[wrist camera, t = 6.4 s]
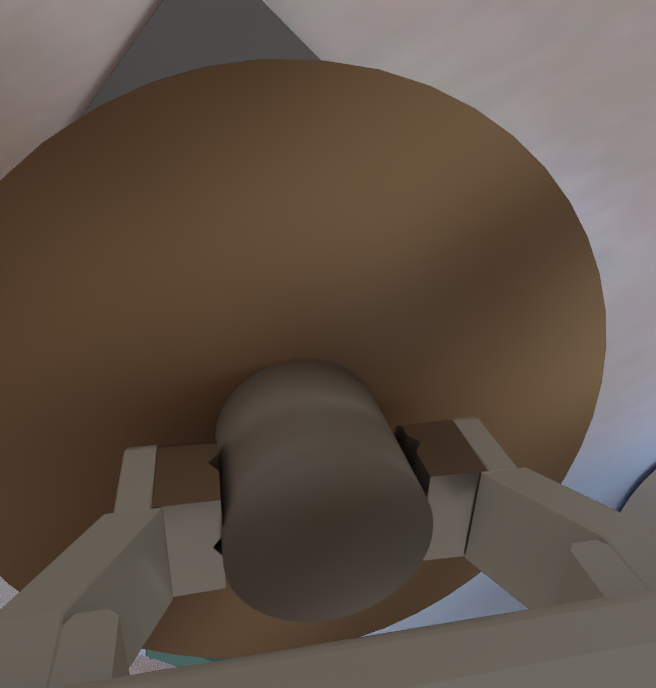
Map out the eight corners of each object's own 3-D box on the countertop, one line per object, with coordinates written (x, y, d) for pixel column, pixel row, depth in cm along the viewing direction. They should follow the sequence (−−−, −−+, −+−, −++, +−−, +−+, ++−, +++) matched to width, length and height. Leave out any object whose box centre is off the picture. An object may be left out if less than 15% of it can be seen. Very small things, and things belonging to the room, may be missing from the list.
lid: (679, 344, 14) (848, 444, 10) (317, 678, 16) (351, 848, 13) (237, -160, 8) (273, -325, 4) (-202, 481, 11) (-392, 689, 7)
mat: (453, 196, 27) (456, 197, 26) (260, 409, 30) (261, 413, 29) (203, -57, 21) (204, -59, 20) (-8, 243, 24) (-10, 246, 23)
